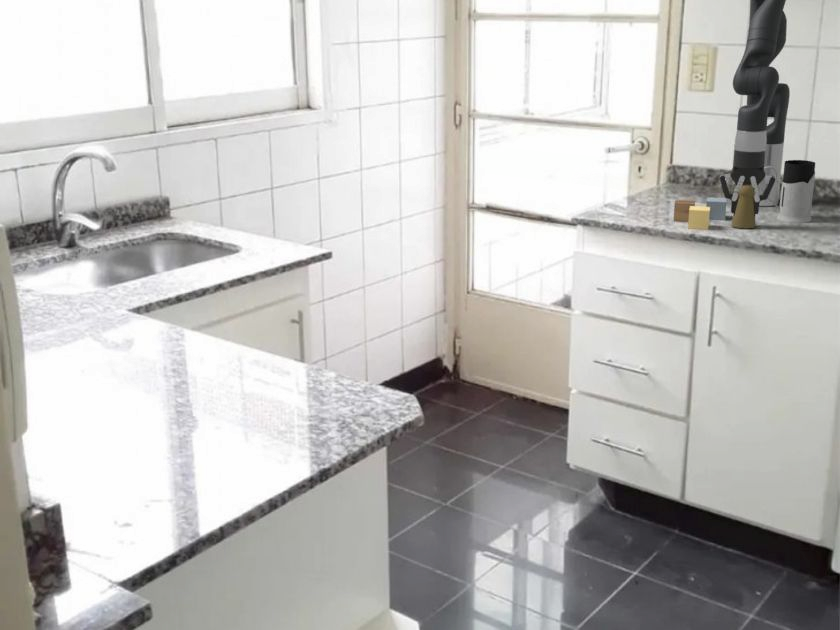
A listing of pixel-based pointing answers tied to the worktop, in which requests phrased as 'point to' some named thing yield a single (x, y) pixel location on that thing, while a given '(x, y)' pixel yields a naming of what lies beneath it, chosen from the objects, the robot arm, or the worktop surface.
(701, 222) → the mustard block
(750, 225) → the cork
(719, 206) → the slate block
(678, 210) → the walnut block
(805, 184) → the glass holder
